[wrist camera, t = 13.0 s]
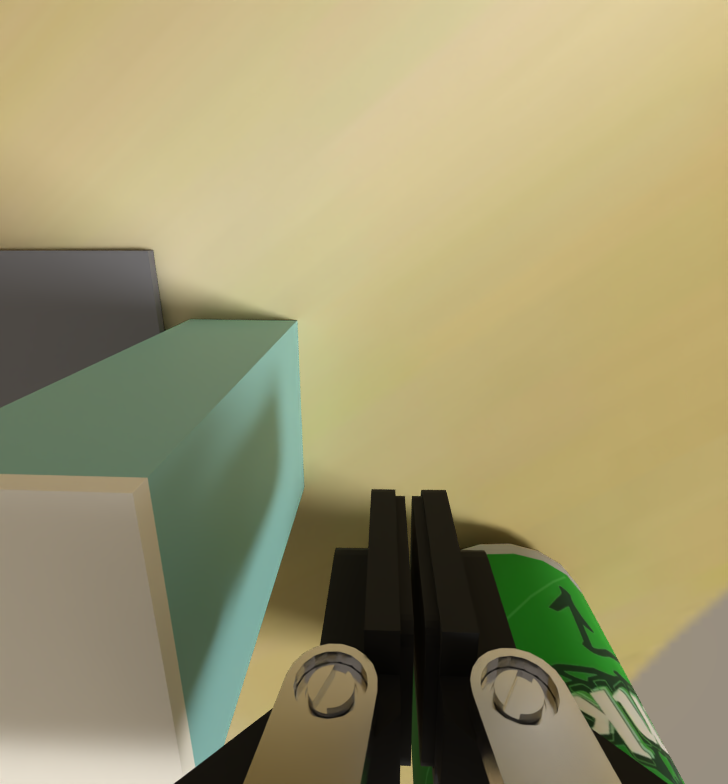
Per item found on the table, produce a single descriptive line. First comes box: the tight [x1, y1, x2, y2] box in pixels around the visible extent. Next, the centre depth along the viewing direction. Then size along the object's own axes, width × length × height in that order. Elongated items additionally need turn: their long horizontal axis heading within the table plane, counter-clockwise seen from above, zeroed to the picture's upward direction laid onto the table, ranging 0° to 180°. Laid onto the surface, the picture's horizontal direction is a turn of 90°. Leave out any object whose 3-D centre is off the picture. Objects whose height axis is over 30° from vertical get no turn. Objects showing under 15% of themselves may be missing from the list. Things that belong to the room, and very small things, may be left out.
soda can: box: [411, 544, 684, 784], centre depth 15 cm, size 8×8×12 cm
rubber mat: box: [0, 250, 164, 408], centre depth 19 cm, size 12×12×1 cm
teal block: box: [0, 319, 304, 784], centre depth 13 cm, size 7×4×12 cm, turn 0°
